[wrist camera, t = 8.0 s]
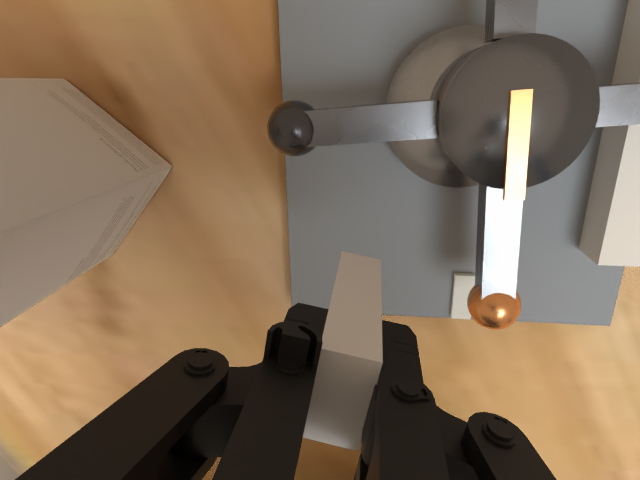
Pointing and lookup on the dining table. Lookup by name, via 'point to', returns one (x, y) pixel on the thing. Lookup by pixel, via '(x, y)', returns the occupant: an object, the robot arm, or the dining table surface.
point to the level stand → (449, 202)
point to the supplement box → (63, 187)
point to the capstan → (479, 128)
